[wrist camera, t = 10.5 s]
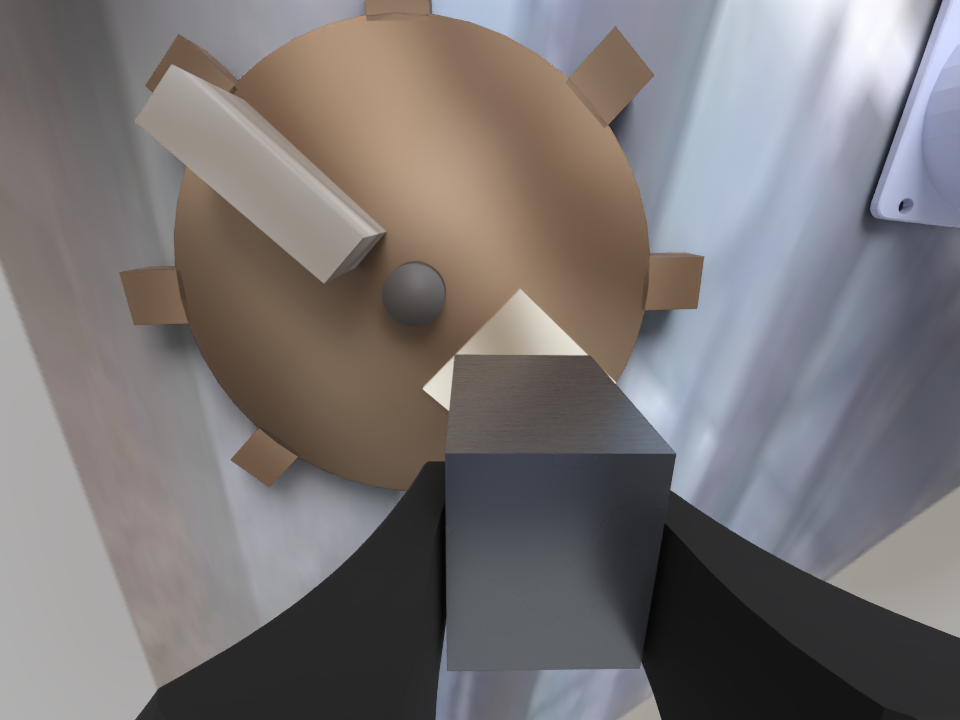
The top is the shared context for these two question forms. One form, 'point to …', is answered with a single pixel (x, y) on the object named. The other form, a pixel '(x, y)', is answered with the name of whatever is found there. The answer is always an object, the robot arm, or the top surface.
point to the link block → (549, 515)
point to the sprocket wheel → (396, 228)
